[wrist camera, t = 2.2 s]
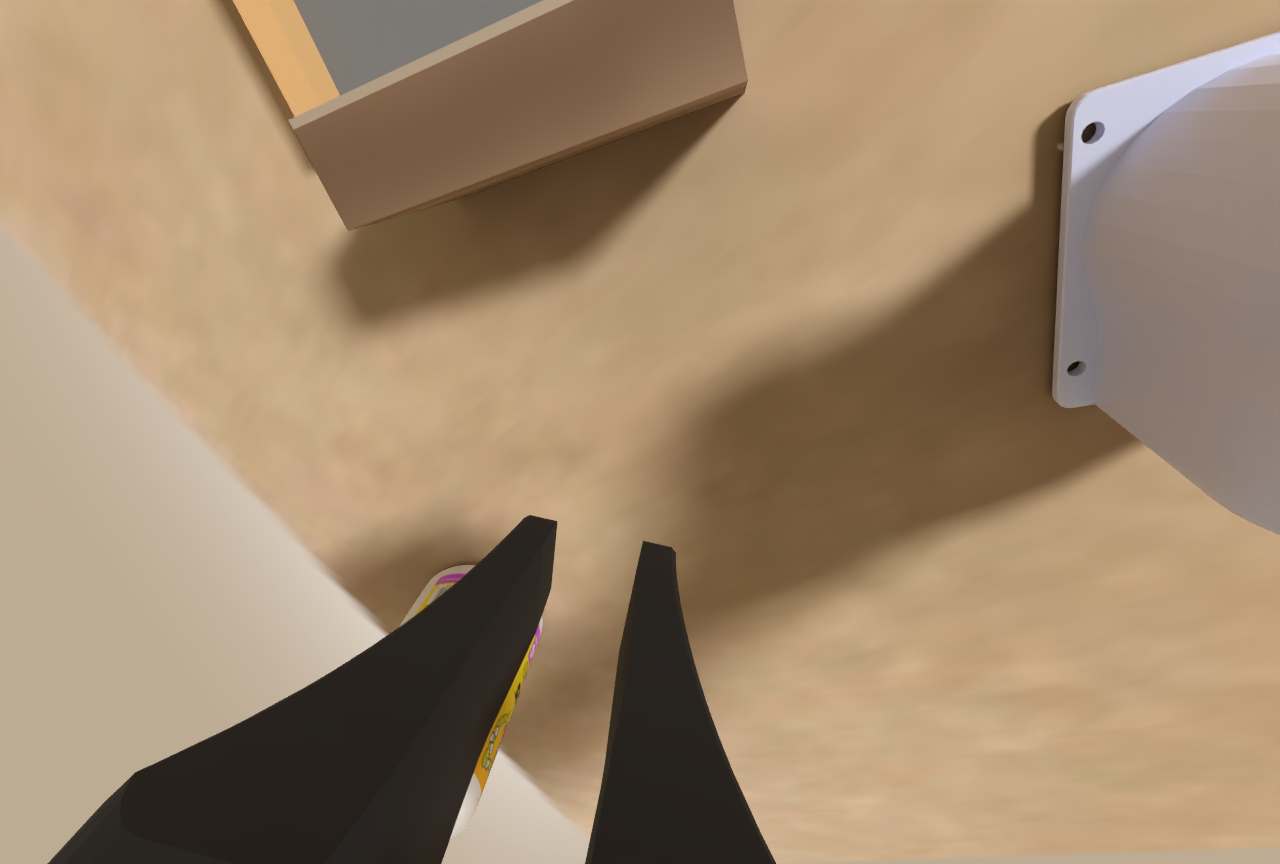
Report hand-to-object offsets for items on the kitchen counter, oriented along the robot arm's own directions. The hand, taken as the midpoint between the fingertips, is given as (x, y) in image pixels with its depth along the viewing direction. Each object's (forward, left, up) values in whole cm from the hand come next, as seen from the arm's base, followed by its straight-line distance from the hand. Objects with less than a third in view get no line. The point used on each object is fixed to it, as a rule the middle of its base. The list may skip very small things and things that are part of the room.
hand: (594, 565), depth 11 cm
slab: (+9, 0, -10) cm, 14 cm away
